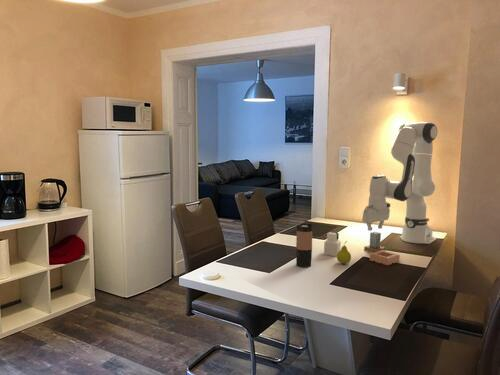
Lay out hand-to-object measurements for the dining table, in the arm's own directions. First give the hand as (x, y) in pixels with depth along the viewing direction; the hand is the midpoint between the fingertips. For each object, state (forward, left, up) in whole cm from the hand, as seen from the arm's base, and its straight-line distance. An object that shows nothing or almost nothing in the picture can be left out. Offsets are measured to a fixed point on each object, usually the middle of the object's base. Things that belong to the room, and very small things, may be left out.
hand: (375, 229), depth 222 cm
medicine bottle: (+23, -10, -12) cm, 28 cm away
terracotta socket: (+11, +14, -12) cm, 22 cm away
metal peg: (-1, 0, -10) cm, 10 cm away
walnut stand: (-1, 0, -12) cm, 12 cm away
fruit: (+31, +4, -12) cm, 34 cm away
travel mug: (+49, -6, -12) cm, 51 cm away
